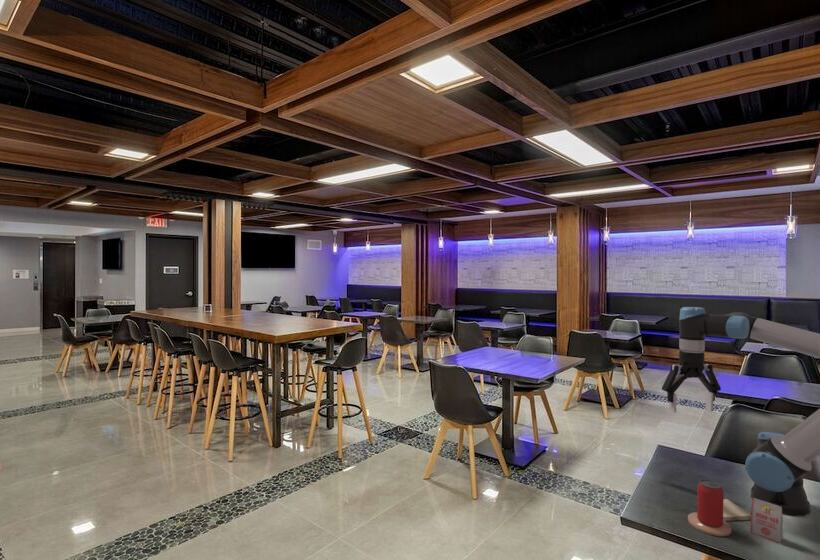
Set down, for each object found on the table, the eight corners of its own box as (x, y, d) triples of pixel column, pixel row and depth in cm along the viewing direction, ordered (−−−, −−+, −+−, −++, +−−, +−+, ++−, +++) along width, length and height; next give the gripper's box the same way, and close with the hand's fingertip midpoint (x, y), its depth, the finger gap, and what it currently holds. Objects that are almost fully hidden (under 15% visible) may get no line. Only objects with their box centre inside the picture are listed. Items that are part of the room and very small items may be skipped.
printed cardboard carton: (753, 528, 131) (753, 495, 131) (782, 538, 126) (783, 504, 126) (750, 532, 129) (750, 499, 128) (779, 543, 123) (780, 509, 123)
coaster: (712, 514, 138) (712, 511, 138) (741, 535, 127) (741, 532, 127) (679, 516, 137) (679, 513, 137) (705, 537, 126) (705, 533, 126)
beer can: (727, 529, 128) (728, 489, 128) (703, 527, 130) (703, 487, 129) (716, 517, 135) (716, 479, 135) (693, 515, 136) (693, 477, 136)
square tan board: (726, 502, 145) (726, 498, 145) (752, 519, 135) (752, 515, 135) (698, 503, 145) (698, 500, 145) (722, 520, 135) (722, 517, 135)
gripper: (716, 348, 157) (716, 406, 157) (651, 349, 155) (650, 408, 155) (733, 352, 149) (733, 413, 149) (664, 353, 147) (664, 415, 148)
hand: (691, 410), depth 152 cm, fingers open, 13 cm apart
